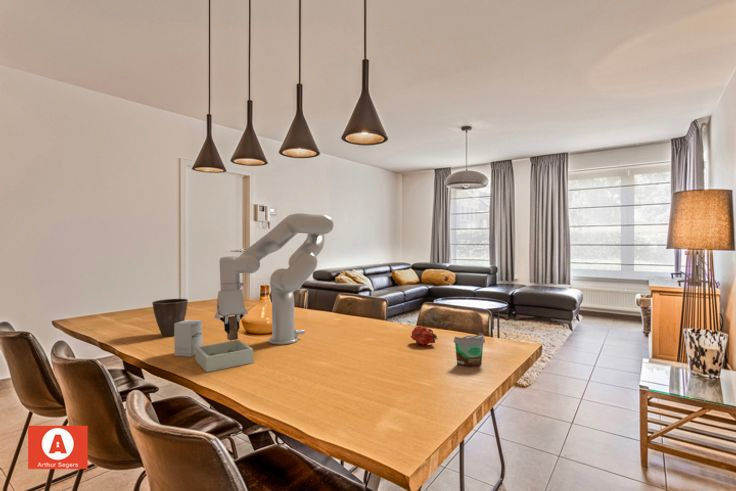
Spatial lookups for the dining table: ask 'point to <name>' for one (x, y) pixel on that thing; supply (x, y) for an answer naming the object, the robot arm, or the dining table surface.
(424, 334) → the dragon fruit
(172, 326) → the plant pot
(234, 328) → the walnut timber post
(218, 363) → the pale green tray
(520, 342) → the dining table surface
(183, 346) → the supplement box
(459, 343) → the food container
